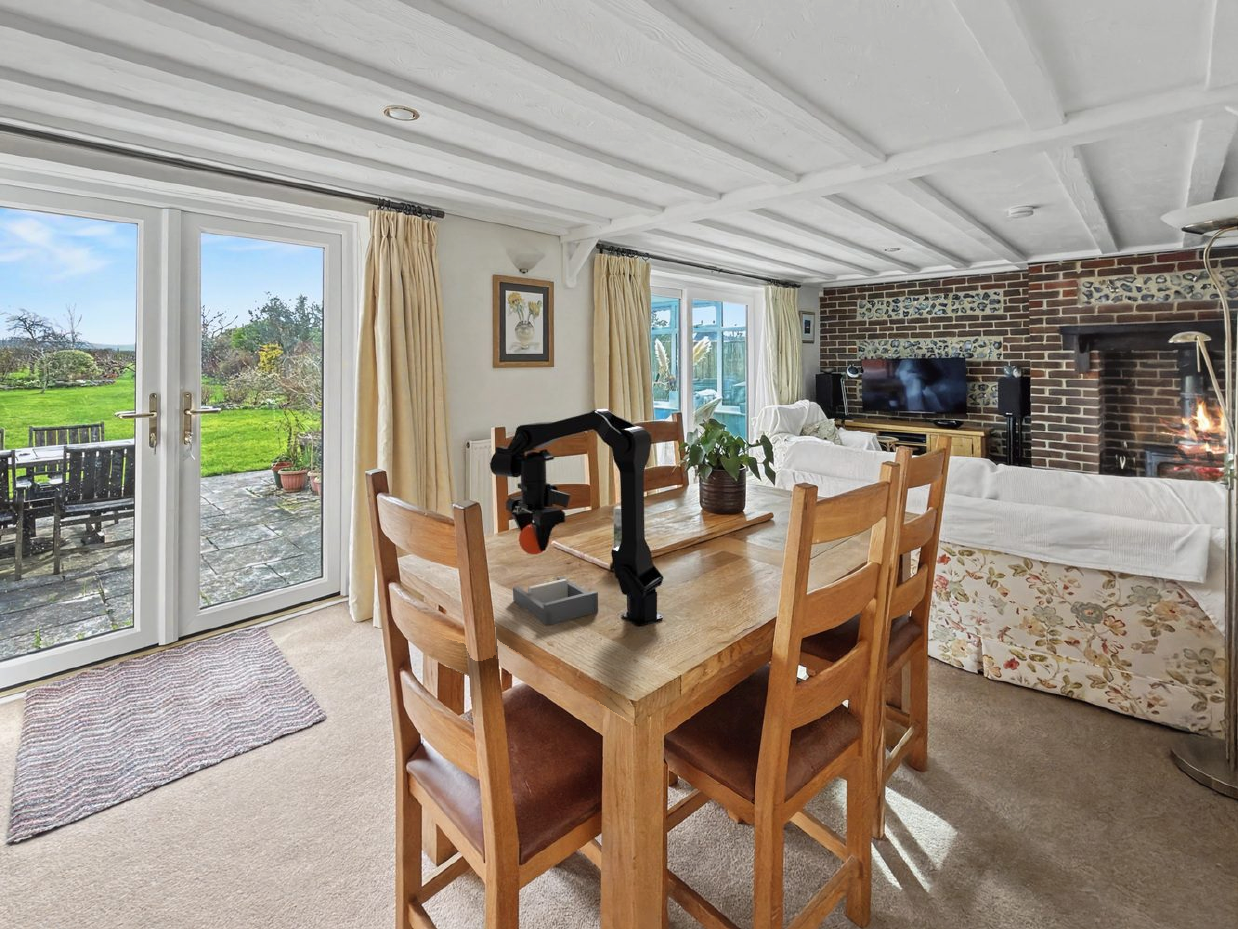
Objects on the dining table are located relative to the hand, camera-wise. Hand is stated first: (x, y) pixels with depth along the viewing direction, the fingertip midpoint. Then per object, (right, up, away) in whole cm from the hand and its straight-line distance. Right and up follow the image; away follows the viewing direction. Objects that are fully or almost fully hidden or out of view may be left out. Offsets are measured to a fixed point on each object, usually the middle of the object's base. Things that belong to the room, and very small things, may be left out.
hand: (535, 546), depth 143 cm
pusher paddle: (+3, -12, -3) cm, 13 cm away
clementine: (0, -2, 0) cm, 2 cm away
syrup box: (+21, -7, +27) cm, 35 cm away
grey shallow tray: (+5, -12, -6) cm, 14 cm away
